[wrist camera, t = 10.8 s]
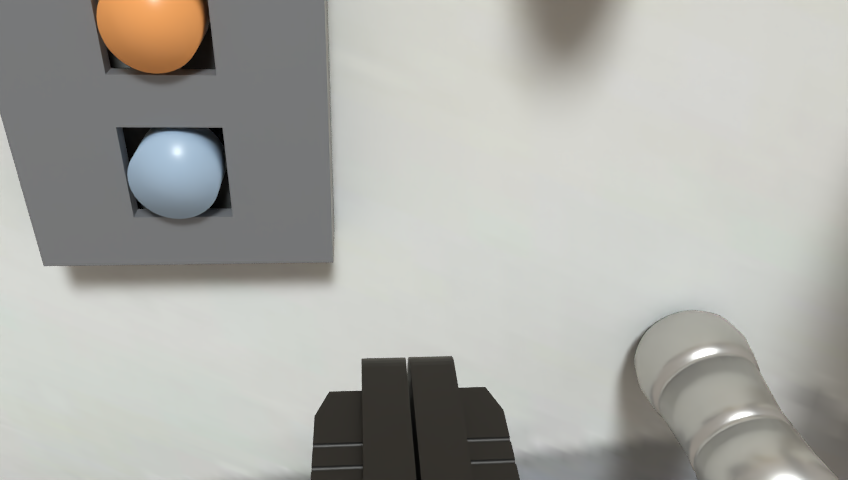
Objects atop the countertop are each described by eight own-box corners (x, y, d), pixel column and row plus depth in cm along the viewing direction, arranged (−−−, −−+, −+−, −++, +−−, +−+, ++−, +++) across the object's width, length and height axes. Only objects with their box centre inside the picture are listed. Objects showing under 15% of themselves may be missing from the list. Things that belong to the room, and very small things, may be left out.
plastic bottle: (605, 335, 45) (756, 668, 28) (703, 276, 43) (928, 595, 26) (653, 393, 48) (815, 725, 31) (747, 340, 46) (974, 663, 29)
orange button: (204, -39, 31) (193, -26, 29) (215, 55, 33) (205, 74, 31) (105, -41, 30) (87, -28, 28) (122, 54, 32) (106, 73, 30)
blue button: (222, 118, 34) (213, 140, 32) (230, 194, 36) (223, 218, 34) (134, 118, 34) (120, 139, 32) (147, 194, 36) (135, 219, 34)
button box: (317, -330, 27) (313, -341, 24) (334, 231, 39) (333, 262, 37) (-89, -353, 26) (-137, -368, 23) (64, 233, 38) (43, 266, 36)
